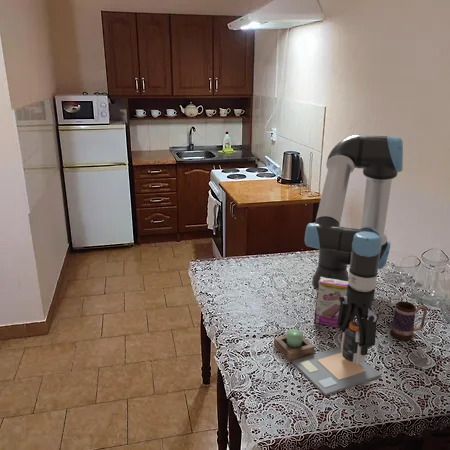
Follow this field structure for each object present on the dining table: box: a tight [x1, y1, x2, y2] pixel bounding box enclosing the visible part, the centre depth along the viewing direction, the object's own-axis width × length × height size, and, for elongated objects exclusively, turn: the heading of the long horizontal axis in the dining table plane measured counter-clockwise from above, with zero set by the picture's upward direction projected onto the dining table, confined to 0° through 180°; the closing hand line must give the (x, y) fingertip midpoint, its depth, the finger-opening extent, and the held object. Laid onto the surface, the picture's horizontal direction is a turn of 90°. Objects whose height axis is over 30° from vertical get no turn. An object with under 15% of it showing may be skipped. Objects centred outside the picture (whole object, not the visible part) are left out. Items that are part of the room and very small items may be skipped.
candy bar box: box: [313, 277, 348, 329], centre depth 148 cm, size 11×5×16 cm, turn 71°
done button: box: [286, 328, 304, 350], centre depth 134 cm, size 5×5×4 cm
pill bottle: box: [342, 320, 360, 362], centre depth 126 cm, size 6×6×11 cm
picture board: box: [291, 345, 382, 397], centre depth 127 cm, size 20×16×1 cm
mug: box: [389, 300, 428, 342], centre depth 142 cm, size 10×7×12 cm
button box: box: [273, 334, 316, 363], centre depth 135 cm, size 9×9×3 cm
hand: (352, 356), depth 128 cm, fingers closed on pill bottle, 6 cm apart
